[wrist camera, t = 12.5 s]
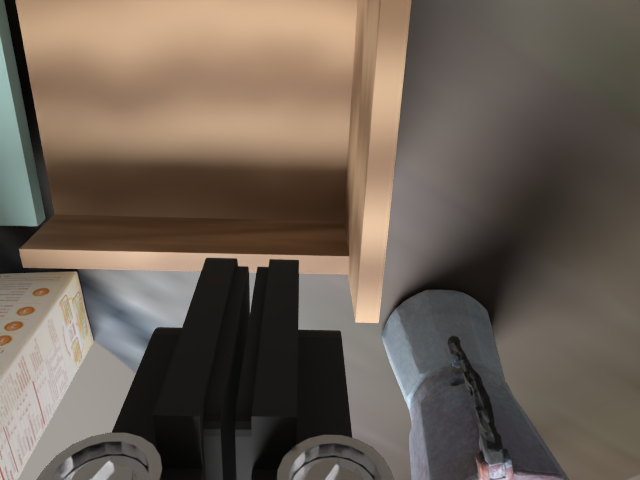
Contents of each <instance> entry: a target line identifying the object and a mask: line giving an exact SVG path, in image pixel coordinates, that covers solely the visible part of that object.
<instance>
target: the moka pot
mask: <svg viewBox="0 0 640 480" xmlns="http://www.w3.org/2000/svg"><path fill="white" fill-rule="evenodd" d="M382 339H383V343H384V346H385V349H386V352H387V355H388V358H389V361H390V364H391V367H392V369H393V371H394V373H395V376H396V379H397V381H398V384H399V386H400V388H401V391H402V393H403V396H404V399H405V401H406V403H407V406H408V408H409V411H410V416H411V422H412V428H411V431H410V435H409V448H410V459H411V476H412V480H569V479H568V477H567V475H566V474H565V472H564V471H563V469H562V468H561V466H560V465H559V463H558V462H557V460H556V459H555V457H554V456H553V454H552V453H551V451H550V450H549V448H548V447H547V445H546V443H545V442H544V440H543V439H542V437H541V436H540V434H539V433H538V431H537V430H536V428H535V426H534V425H533V423H532V422H531V420H530V419H529V418H528V416H527V415H526V413H525V412H524V410H523V409H522V407H521V406H520V405H519V403H518V402H517V401H516V399H515V398H514V396H513V394H512V392H511V390H510V388H509V386H508V384H507V383H506V382H505V378H504V374H503V370H502V366H501V362H500V358H499V354H498V350H497V346H496V342H495V338H494V334H493V330H492V326H491V323H490V319H489V315H488V311H487V310H486V309H485V308H484V307H483V306H482V305H481V304H480V303H479V302H478V301H477V300H475V299H474V298H472V297H470V296H469V295H467V294H465V293H463V292H459V291H454V290H440V289H439V290H424V291H423V292H420V293H418V294H416V295H414V296H412V297H410V298H409V299H407V300H405V301H404V302H403V303H402V304H401V305H399V306H398V307H397V308H396V309H395V310H394V311H393V312H392V314H391V315H390V317H389V319H388V321H387V323H386V325H385V327H384V330H383V332H382Z"/></svg>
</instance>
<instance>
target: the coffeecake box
mask: <svg viewBox="0 0 640 480" xmlns="http://www.w3.org/2000/svg"><path fill="white" fill-rule="evenodd" d="M92 344H93V337H92V333H91V328H90V324H89V320H88V318H87V314H86V309H85V305H84V300H83V294H82V290H81V285H80V281H79V277H78V273H77V272H39V273H8V274H0V480H18V478H19V476H20V474H21V472H22V471H23V469H24V467H25V465H26V463H27V461H28V459H29V458H30V456H31V454H32V452H33V450H34V448H35V447H36V445H37V443H38V441H39V439H40V438H41V436H42V434H43V432H44V430H45V429H46V427H47V425H48V423H49V422H50V420H51V418H52V416H53V414H54V412H55V411H56V409H57V407H58V405H59V403H60V402H61V400H62V398H63V396H64V394H65V393H66V391H67V389H68V387H69V385H70V384H71V382H72V380H73V378H74V376H75V374H76V373H77V371H78V369H79V367H80V366H81V364H82V362H83V360H84V358H85V356H86V355H87V353H88V351H89V349H90V347H91V345H92Z"/></svg>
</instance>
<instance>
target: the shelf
mask: <svg viewBox="0 0 640 480" xmlns="http://www.w3.org/2000/svg"><path fill="white" fill-rule="evenodd" d="M15 1H16V7H17V12H18V18H19V23H20V29H21V34H22V40H23V45H24V51H25V56H26V62H27V67H28V73H29V78H30V84H31V89H32V95H33V100H34V106H35V111H36V117H37V122H38V128H39V133H40V139H41V144H42V150H43V155H44V161H45V166H46V172H47V177H48V183H49V188H50V194H51V199H52V205H53V210H54V215H53V216H52V217H51V218H50V219H49V220H48V221H47V222H46V223H45V224H44V225H43V226H42V227H41V228H40V229H39V230H38V231H37V232H36V233H35V234H34V235H33V236H32V237H31V238H30V239H29V240H28V241H27V242H26V243H25V244H24V245H23V246H22V247H21V248H20V249H19V252H20V256H21V261H22V265H23V268H61V269H110V270H159V271H202V268H203V265H204V262H205V259H206V258H237V260H238V266H248V267H249V272H257V267H269V259H285V260H299V273H306V274H348V278H349V284H350V291H351V298H352V304H353V311H354V317H355V322H363V323H379V314H380V305H381V295H382V285H383V275H384V265H385V255H386V246H387V236H388V226H389V216H390V206H391V196H392V187H393V177H394V167H395V157H396V147H397V138H398V128H399V118H400V108H401V98H402V88H403V79H404V69H405V59H406V49H407V39H408V29H409V20H410V10H411V0H15Z"/></svg>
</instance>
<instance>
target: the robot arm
mask: <svg viewBox="0 0 640 480" xmlns="http://www.w3.org/2000/svg"><path fill="white" fill-rule="evenodd" d="M298 302H299V260H285V259H269V267H257V273H256V279H255V286H254V292H253V299H252V305H251V312H250V301H249V267H248V266H238V260H237V258H206V259H205V262H204V265H203V268H202V271H201V274H200V277H199V280H198V283H197V286H196V289H195V292H194V295H193V298H192V301H191V304H190V307H189V310H188V313H187V316H186V319H185V322H184V324H183V327H182V328H163V327H158V328H156V329H155V331H154V332H153V334H152V336H151V339H150V341H149V344H148V346H147V349H146V351H145V353H144V356H143V358H142V361H141V363H140V366H139V368H138V370H137V373H136V375H135V378H134V380H133V382H132V385H131V387H130V390H129V392H128V395H127V397H126V399H125V402H124V404H123V407H122V409H121V412H120V414H119V416H118V419H117V421H116V424H115V426H114V429H113V431H112V433H105V434H101V435H96V436H91V437H89V438H86V439H84V440H82V441H79V442H77V443H75V444H72V445H71V446H70V447H68V448H67V449H65V450H64V451H62V452H61V453H59V454H58V455H57V456H56V457H55V458H54V459H53V460H52V461H51V462H50V463H49V464H48V465H47V466H46V468H45V469H44V470H43V471H42V473H41V474H40V475H39V477H38V478H37V480H394V477H393V475H392V472H391V470H390V468H389V466H388V465H387V463H386V461H385V459H384V458H383V457H382V456H381V455H380V454H379V453H378V452H377V451H376V450H375V449H374V448H373V447H371V446H369V445H367V444H365V443H364V442H362V441H360V440H358V439H355V438H352V432H351V422H350V413H349V403H348V394H347V385H346V375H345V366H344V356H343V347H342V337H341V332H340V331H330V330H298Z"/></svg>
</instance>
